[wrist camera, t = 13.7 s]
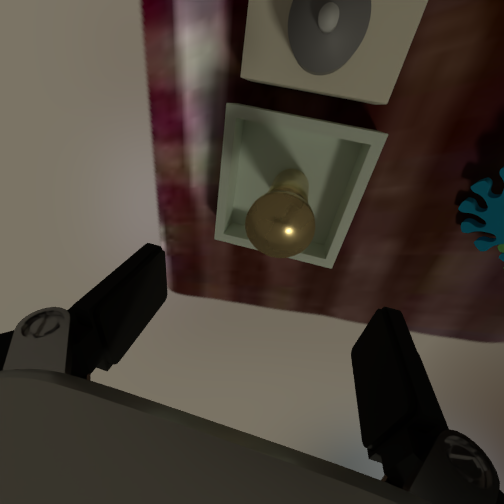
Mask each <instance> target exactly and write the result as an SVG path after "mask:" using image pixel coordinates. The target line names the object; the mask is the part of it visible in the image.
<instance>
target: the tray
mask: <svg viewBox="0 0 504 504" xmlns="http://www.w3.org/2000/svg"><path fill="white" fill-rule="evenodd" d="M387 136H388V134H386V133H383V132H380V131H377V130H372V129H367V128H362V127H357V126H352V125H347V124H342V123H337V122H331V121H326V120H321V119H316V118H311V117H306V116H301V115H296V114H290V113H285V112H280V111H275V110H270V109H265V108H260V107H254V106H249V105H244V104H239V103H226V113H225V125H224V136H223V148H222V159H221V170H220V182H219V193H218V205H217V216H216V227H215V239H216V240H220V241H224V242H228V243H232V244H236V245H240V246H244V247H248V248H252V249H256V248H255V247H254V246H253V244H252V243H251V242H250V240H249V238H248V236H247V233H246V229H245V220H246V216H247V213H248V211H249V209H250V207H251V206H252V204H253V203H254V202H255V201H256V200H257V199H258V198H259V197H260V196H262V195H264V194H265V193H267V192H268V191H269V189H270V187H271V185H272V183H273V181H274V179H275V178H276V176H277V175H278V174H279V173H280V172H281V171H283V170H286V169H297V170H299V171H301V172H302V173H304V175H305V176H306V177H307V179H308V183H309V193H308V204H309V205H310V207H311V209H312V211H313V213H314V217H315V233H314V237H313V239H312V241H311V243H310V244H309V246H308V247H307V248H306V249H305V250H304V251H302V252H301V253H299V254H297V255H295V256H292V257H287V258H291V259H295V260H299V261H303V262H307V263H311V264H315V265H319V266H323V267H327V268H331V269H332V267H333V264H334V262H335V260H336V257H337V255H338V252H339V250H340V248H341V245H342V243H343V241H344V238H345V236H346V233H347V231H348V229H349V226H350V224H351V222H352V219H353V217H354V214H355V212H356V210H357V207H358V205H359V203H360V200H361V198H362V196H363V193H364V191H365V188H366V186H367V184H368V181H369V179H370V177H371V174H372V172H373V169H374V167H375V165H376V162H377V160H378V158H379V155H380V153H381V150H382V148H383V146H384V143H385V141H386V139H387ZM256 250H258V249H256Z"/></svg>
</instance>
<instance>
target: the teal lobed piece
mask: <svg viewBox="0 0 504 504" xmlns="http://www.w3.org/2000/svg"><path fill="white" fill-rule="evenodd" d="M500 176H501V177H502V179H503V181H504V167H503V168H501V170H500ZM492 185H493V181H492V180H491V179H490V178H489V177H487V178H484V179H481V180H479V181H478V182H476V183H475V184H473V185H472V186H471V190H472V191H473V192H475V193H477V194H479V195H481V196H482V197H483V198H484V199H485V201H486V203H487V206H488V208H486V209H484V208H481V207H479V205H478V203H477V201H476V200H475V199H474V198H471V197H468V198H467V199H466V200H465V201H463V202H462V203H461V205H460V206H459V208H458V210H459V211H461V212H464V213H472V214H475V215H477V216H479V217H481V218H482V219H483V220H485V222H486V224H480V223H479V222H477V221H476V220H474V219H471V218H467V219H465V220H464V221H463V222H462V223H461V230H462V232H464V233H470V232H475V231H483V232H488V233H491V234H494V235H495V236H496V238H489V237H485V236H483V237H479V238H478V239H477V240H476V241H475V242H474V244H475V246H476V247H477V248H478V249H479V250H480V251H487V250H488V249H489V248H491V247H492V246H495V245H498V244H500V245H499V246H498V250H499V251H500V252H502V254H501V255H500V256H499V258H500V259H501V260H502V261H504V190H503V193H502V194H500V195H496V194H493V193H492V192H491V188H492Z"/></svg>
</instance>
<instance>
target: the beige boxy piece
mask: <svg viewBox="0 0 504 504" xmlns="http://www.w3.org/2000/svg"><path fill="white" fill-rule="evenodd" d="M427 2H428V0H249V3H248V12H247V21H246V30H245V39H244V48H243V58H242V67H241V76H240V77H241V78H244V79H246V80H249V81H251V82H257V83H262V84H268V85H273V86H278V87H284V88H289V89H295V90H300V91H305V92H311V93H316V94H321V95H327V96H332V97H338V98H343V99H348V100H354V101H359V102H365V103H370V104H375V105H377V104H387V103H388V100H389V98H390V95H391V93H392V90H393V88H394V85H395V83H396V80H397V78H398V75H399V73H400V70H401V68H402V65H403V62H404V60H405V57H406V55H407V52H408V50H409V47H410V45H411V42H412V40H413V37H414V35H415V32H416V30H417V27H418V24H419V22H420V19H421V17H422V14H423V12H424V9H425V7H426V4H427Z"/></svg>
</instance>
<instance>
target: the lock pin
mask: <svg viewBox="0 0 504 504" xmlns="http://www.w3.org/2000/svg"><path fill="white" fill-rule="evenodd" d="M308 193H309V183H308V179H307V177H306V176H305V175H304V173H302V172H301V171H299V170H297V169H286V170H283V171H281V172H280V173H279V174H278V175H277V176H276V178H275V179H274V181H273V183H272V185H271V187H270V189H269V191H268V192H267V193H265V194H264V195H262V196H260V197H259V198H258V199H257V200H256V201H255V202H254V203H253V204H252V206H251V207H250V209H249V211H248V213H247V216H246V220H245V229H246V233H247V236H248V238H249V240H250V242H251V243H252V244H253V246H254V247H255V248H256V249H258V250H259V251H260V252H262V253H264V254H266V255H268V256H271V257H276V258H287V257H292V256H295V255H297V254H299V253H301V252H302V251H304V250H305V249H306V248H307V247H308V246H309V244H310V243H311V241H312V239H313V237H314V233H315V217H314V213H313V211H312V209H311V207H310V205H309V204H308Z"/></svg>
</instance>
